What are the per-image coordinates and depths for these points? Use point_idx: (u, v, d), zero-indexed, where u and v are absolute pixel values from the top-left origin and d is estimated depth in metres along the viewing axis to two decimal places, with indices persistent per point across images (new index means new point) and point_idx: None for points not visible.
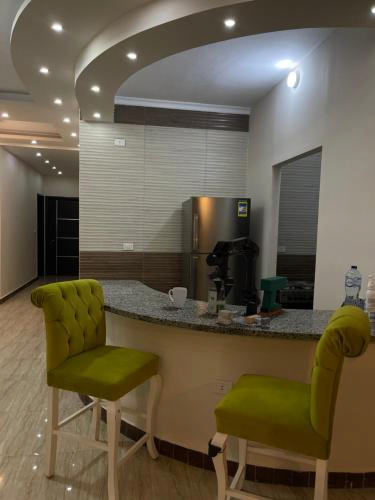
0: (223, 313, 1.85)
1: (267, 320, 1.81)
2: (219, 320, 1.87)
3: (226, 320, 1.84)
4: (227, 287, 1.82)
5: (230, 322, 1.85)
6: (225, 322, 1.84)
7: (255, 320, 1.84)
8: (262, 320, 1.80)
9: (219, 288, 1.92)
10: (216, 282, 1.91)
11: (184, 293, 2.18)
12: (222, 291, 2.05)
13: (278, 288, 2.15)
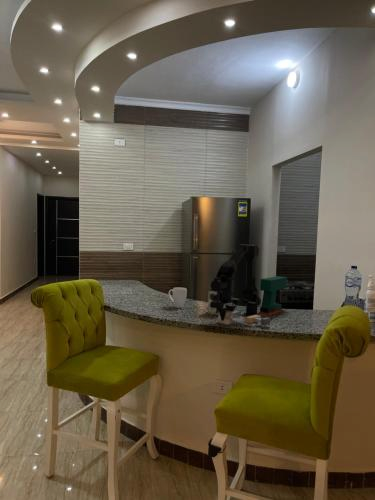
0: None
1: (267, 320, 1.81)
2: (219, 320, 1.87)
3: (226, 320, 1.84)
4: (221, 310, 1.84)
5: (230, 322, 1.85)
6: (225, 322, 1.84)
7: (255, 320, 1.84)
8: (262, 320, 1.80)
9: None
10: (227, 307, 1.89)
11: (184, 293, 2.18)
12: None
13: (278, 288, 2.15)
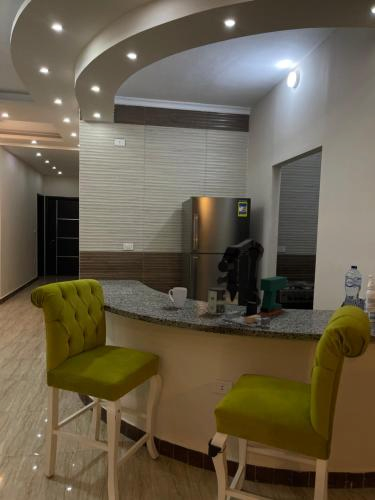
0: None
1: (267, 320, 1.81)
2: (227, 302, 1.88)
3: (236, 300, 1.87)
4: (232, 292, 1.86)
5: None
6: (235, 302, 1.87)
7: (255, 320, 1.84)
8: (262, 320, 1.80)
9: None
10: None
11: (184, 293, 2.18)
12: (222, 291, 2.05)
13: (278, 288, 2.15)
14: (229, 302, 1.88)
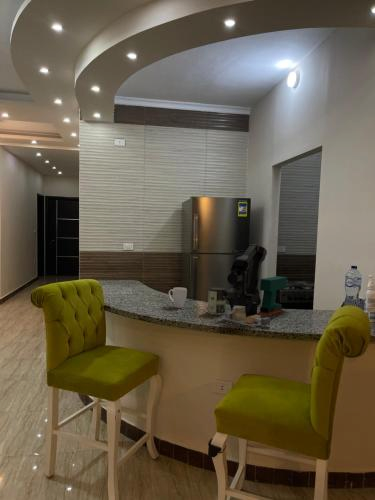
0: (242, 309, 1.92)
1: (267, 320, 1.81)
2: (239, 317, 1.90)
3: (244, 314, 1.94)
4: (248, 304, 1.89)
5: None
6: (244, 316, 1.93)
7: (255, 320, 1.84)
8: (262, 320, 1.80)
9: (233, 304, 1.97)
10: (230, 299, 1.96)
11: (184, 293, 2.18)
12: (222, 291, 2.05)
13: (278, 288, 2.15)
14: (240, 317, 1.91)
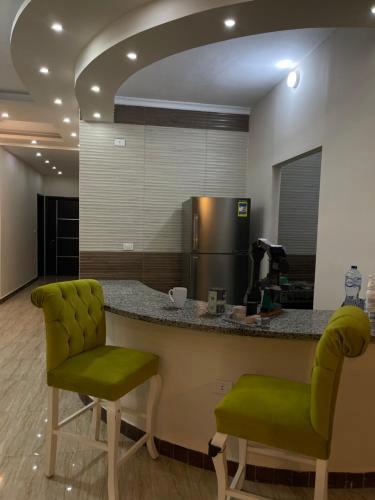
0: (242, 309, 1.92)
1: (267, 320, 1.81)
2: (239, 317, 1.90)
3: (244, 314, 1.94)
4: (276, 293, 1.77)
5: None
6: (244, 316, 1.93)
7: (255, 320, 1.84)
8: (262, 320, 1.80)
9: None
10: (271, 290, 1.77)
11: (184, 293, 2.18)
12: (222, 291, 2.05)
13: None
14: (240, 317, 1.91)
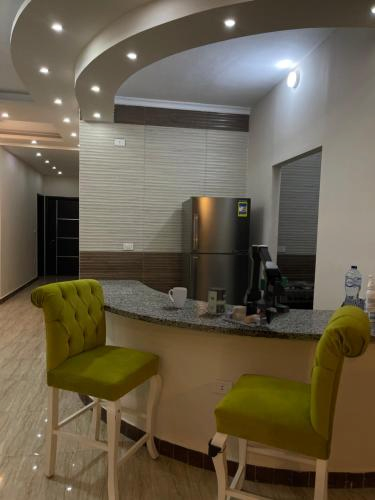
0: (242, 309, 1.92)
1: (266, 320, 1.81)
2: (239, 317, 1.90)
3: (244, 314, 1.94)
4: (272, 314, 1.79)
5: None
6: (244, 316, 1.93)
7: (254, 320, 1.85)
8: (261, 320, 1.80)
9: None
10: (267, 311, 1.80)
11: (184, 293, 2.18)
12: (222, 291, 2.05)
13: None
14: (240, 317, 1.91)
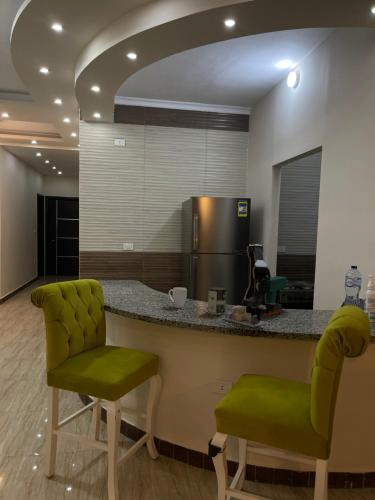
0: (241, 309, 1.92)
1: (257, 318, 1.85)
2: None
3: None
4: (262, 311, 1.83)
5: None
6: None
7: (245, 318, 1.89)
8: (252, 318, 1.84)
9: None
10: (257, 309, 1.84)
11: (184, 293, 2.18)
12: (222, 291, 2.05)
13: (278, 288, 2.15)
14: None
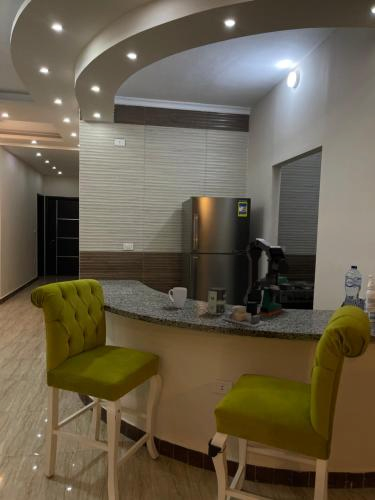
0: (241, 309, 1.92)
1: (257, 318, 1.85)
2: None
3: None
4: (275, 292, 1.82)
5: None
6: None
7: (245, 318, 1.89)
8: (252, 318, 1.84)
9: None
10: (270, 290, 1.83)
11: (184, 293, 2.18)
12: (222, 291, 2.05)
13: None
14: None
